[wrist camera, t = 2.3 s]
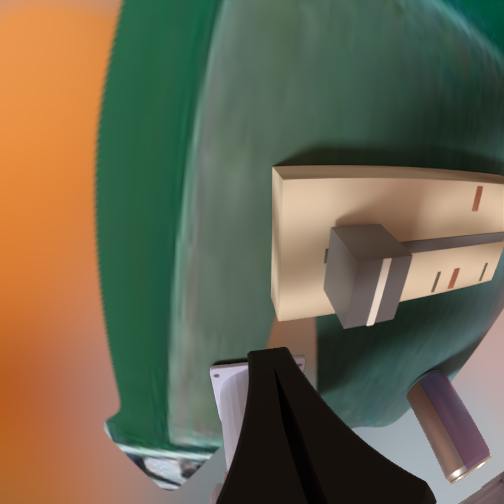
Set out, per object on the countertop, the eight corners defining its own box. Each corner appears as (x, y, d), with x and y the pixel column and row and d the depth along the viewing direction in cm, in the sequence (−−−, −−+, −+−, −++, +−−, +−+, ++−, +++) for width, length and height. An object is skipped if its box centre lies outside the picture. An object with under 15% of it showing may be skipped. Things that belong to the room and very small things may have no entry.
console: (475, 265, 23) (491, 280, 21) (271, 296, 21) (279, 322, 19) (500, 175, 19) (521, 186, 16) (272, 166, 16) (283, 180, 14)
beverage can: (436, 362, 31) (491, 456, 18) (446, 373, 33) (493, 456, 21) (398, 391, 32) (444, 487, 20) (412, 399, 35) (453, 483, 22)
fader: (368, 283, 18) (393, 320, 15) (323, 289, 18) (344, 330, 15) (380, 223, 16) (413, 255, 13) (330, 226, 16) (359, 262, 13)
